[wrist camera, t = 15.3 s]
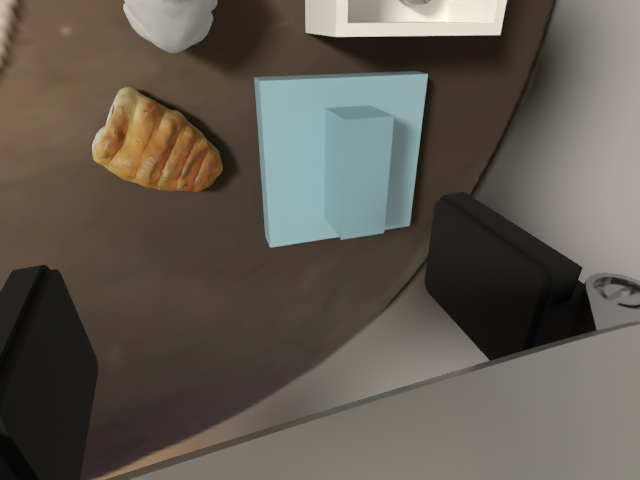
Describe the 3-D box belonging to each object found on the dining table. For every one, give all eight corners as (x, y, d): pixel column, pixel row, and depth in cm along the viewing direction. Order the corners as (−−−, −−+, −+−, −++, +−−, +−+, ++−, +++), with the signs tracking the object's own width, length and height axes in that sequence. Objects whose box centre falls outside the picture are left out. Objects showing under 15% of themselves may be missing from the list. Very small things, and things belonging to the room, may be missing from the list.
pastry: (234, 137, 35) (241, 149, 32) (199, 203, 37) (203, 222, 34) (119, 77, 30) (114, 85, 27) (86, 157, 32) (78, 173, 29)
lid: (254, 77, 33) (272, 90, 28) (415, 70, 37) (459, 81, 32) (265, 236, 40) (281, 272, 35) (399, 217, 44) (433, 246, 39)
